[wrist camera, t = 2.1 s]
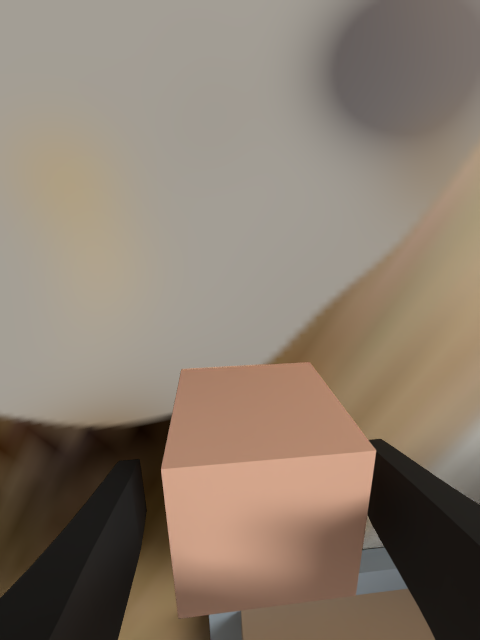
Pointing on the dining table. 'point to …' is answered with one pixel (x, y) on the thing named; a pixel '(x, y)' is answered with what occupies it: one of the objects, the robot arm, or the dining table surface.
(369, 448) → the terracotta cube
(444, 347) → the dining table surface
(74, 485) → the dining table surface
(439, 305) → the dining table surface
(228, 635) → the build base
